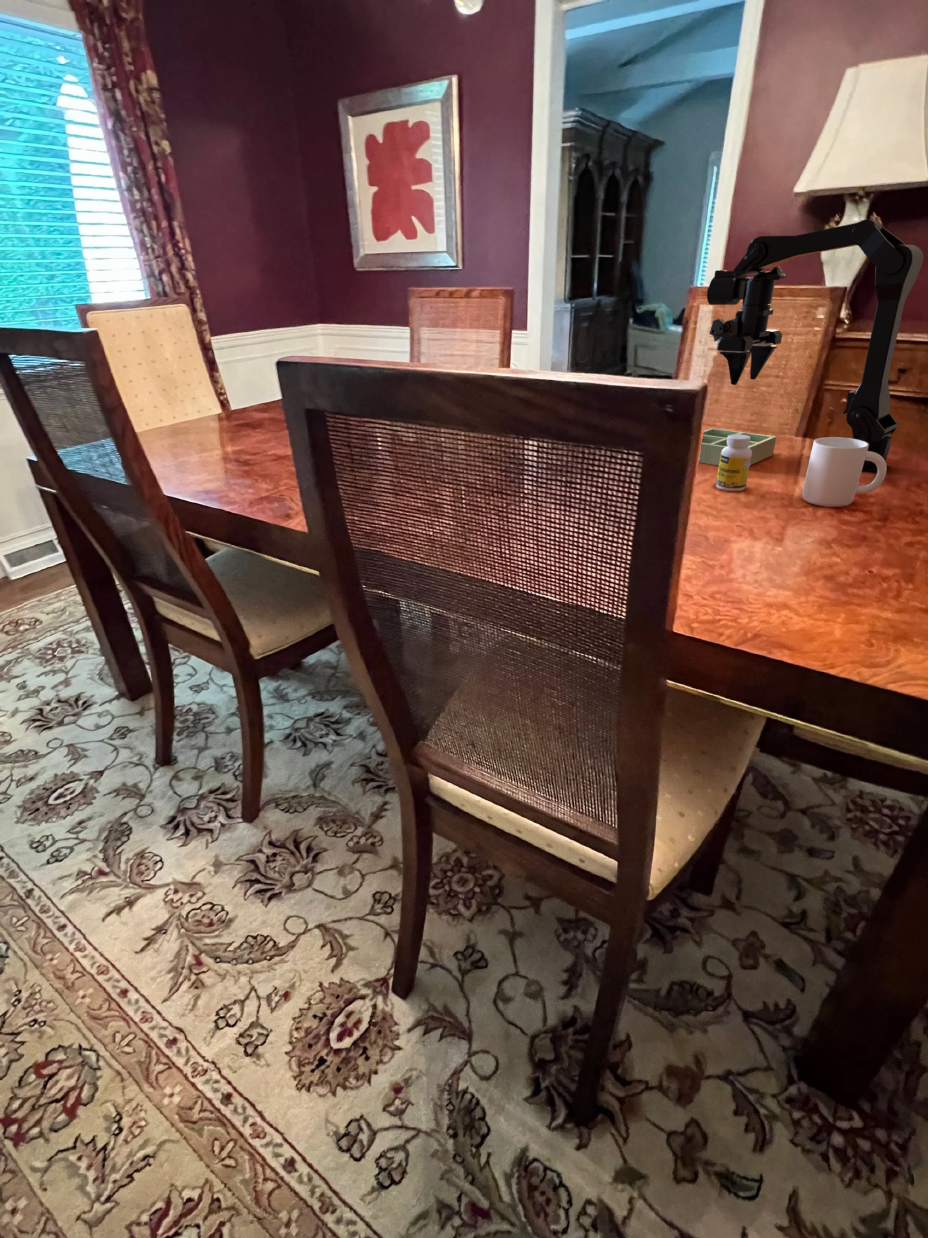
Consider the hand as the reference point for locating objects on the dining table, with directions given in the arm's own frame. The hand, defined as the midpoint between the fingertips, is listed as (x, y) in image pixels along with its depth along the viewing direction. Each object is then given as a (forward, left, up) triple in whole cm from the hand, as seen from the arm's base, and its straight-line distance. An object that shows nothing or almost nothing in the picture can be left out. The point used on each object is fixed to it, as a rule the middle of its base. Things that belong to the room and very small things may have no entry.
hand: (743, 381), depth 140 cm
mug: (-32, +26, -15) cm, 44 cm away
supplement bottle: (-14, +30, -15) cm, 36 cm away
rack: (-2, +9, -15) cm, 17 cm away
